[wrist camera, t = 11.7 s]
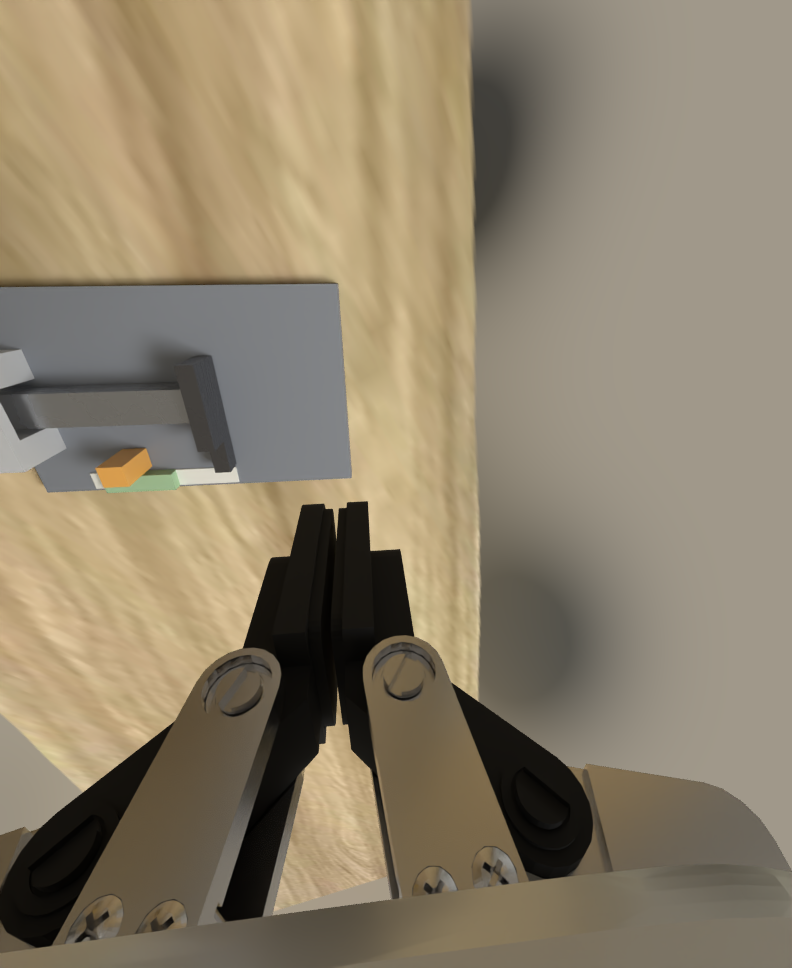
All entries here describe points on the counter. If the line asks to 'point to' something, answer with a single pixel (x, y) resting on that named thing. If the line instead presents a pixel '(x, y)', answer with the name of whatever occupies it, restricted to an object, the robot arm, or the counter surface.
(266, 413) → the board
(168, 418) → the plunger
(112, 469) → the orange block
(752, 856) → the robot arm
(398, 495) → the counter surface
